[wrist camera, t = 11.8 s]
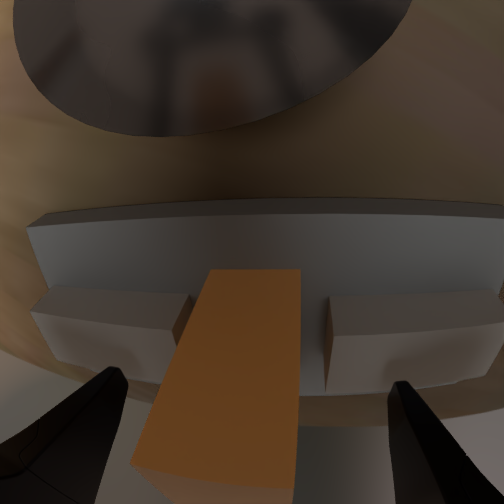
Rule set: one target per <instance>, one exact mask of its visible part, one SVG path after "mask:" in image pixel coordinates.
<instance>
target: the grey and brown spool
mask: <svg viewBox="0 0 504 504" xmlns="http://www.w3.org/2000/svg"><path fill="white" fill-rule="evenodd" d="M411 1H412V0H14V7H13V28H14V36H15V43H16V46H17V50H18V53H19V57H20V60H21V62H22V64H23V66H24V68H25V70H26V72H27V74H28V76H29V78H30V79H31V80H32V82H33V83H34V85H35V86H36V88H37V89H38V90H39V91H40V92H41V93H42V94H43V95H44V96H45V97H46V98H47V99H48V100H49V101H50V102H51V103H52V104H53V105H55V106H56V107H57V108H59V109H60V110H61V111H63V112H64V113H66V114H67V115H69V116H71V117H73V118H75V119H77V120H79V121H81V122H83V123H85V124H87V125H91V126H94V127H97V128H100V129H103V130H106V131H110V132H116V133H121V134H127V135H132V136H151V137H169V136H185V135H195V134H201V133H207V132H213V131H219V130H224V129H228V128H231V127H235V126H239V125H242V124H246V123H250V122H254V121H257V120H260V119H262V118H265V117H268V116H270V115H273V114H276V113H278V112H281V111H284V110H287V109H289V108H291V107H293V106H295V105H297V104H299V103H301V102H303V101H305V100H307V99H309V98H311V97H313V96H316V95H318V94H320V93H321V92H323V91H324V90H326V89H328V88H329V87H331V86H332V85H334V84H335V83H337V82H339V81H340V80H342V79H343V78H345V77H347V76H348V75H349V74H351V73H352V72H353V71H354V70H355V69H357V68H358V67H359V66H360V65H362V64H363V63H364V62H365V61H367V60H368V59H369V58H370V57H372V56H373V55H374V53H375V52H376V51H377V50H378V49H379V48H380V47H381V46H382V45H383V44H384V43H385V42H386V41H387V40H388V39H389V37H390V36H391V35H392V34H393V32H394V31H395V29H396V28H397V26H398V25H399V23H400V22H401V20H402V19H403V17H404V16H405V14H406V12H407V10H408V8H409V6H410V3H411Z"/></svg>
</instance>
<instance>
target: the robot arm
mask: <svg viewBox="0 0 504 504" xmlns="http://www.w3.org/2000/svg"><path fill="white" fill-rule="evenodd" d="M127 391H128V381H127V379H126V377H125V376H124V374H123V372H122V370H121V369H120V368H119V367H114V366H109V367H107V368H106V369H104V370H103V371H102V372H100V373H99V374H98V375H96V376H95V377H94V378H92V379H91V380H90V381H88V382H87V383H86V384H84V385H83V386H82V387H81V388H79V389H78V390H76V391H75V392H74V393H72V394H71V395H70V396H68V397H67V398H66V399H64V400H63V401H62V402H60V403H59V404H58V405H56V406H55V407H54V408H52V409H51V410H50V411H48V412H47V413H46V414H44V415H43V416H42V417H40V419H38V420H36V421H35V422H34V423H32V424H31V425H30V426H28V427H27V428H25V429H24V430H22V431H21V432H19V433H18V434H16V435H14V436H13V437H11V438H9V439H8V440H6V441H4V442H3V443H1V444H0V504H94V503H95V499H96V496H97V492H98V489H99V486H100V482H101V479H102V476H103V473H104V469H105V466H106V463H107V460H108V457H109V454H110V451H111V448H112V444H113V442H114V439H115V436H116V433H117V430H118V427H119V424H120V420H121V416H122V412H123V407H124V403H125V399H126V395H127ZM387 404H388V428H389V448H390V454H391V463H392V471H393V480H394V490H395V501H396V504H504V496H503V495H502V494H501V493H500V492H499V491H498V490H497V489H496V488H495V487H494V486H493V485H492V484H491V483H490V482H489V481H488V480H487V479H486V477H485V476H484V475H483V474H482V473H481V472H480V471H479V469H478V468H477V467H476V466H475V465H474V463H473V462H472V461H471V459H470V458H469V457H468V456H466V453H465V452H464V451H463V449H462V448H461V447H460V445H459V444H458V443H457V441H456V440H455V439H454V438H453V436H452V435H451V434H450V433H449V431H448V430H447V429H446V428H445V426H444V425H443V424H442V423H441V421H440V420H439V419H438V418H437V416H436V415H435V414H434V413H433V411H432V410H431V409H430V408H429V406H428V405H427V404H426V403H425V401H424V400H423V399H422V398H421V397H420V395H419V394H418V393H417V392H416V391H415V389H414V388H413V387H412V386H411V384H410V383H409V382H408V381H406V380H402V381H395V382H394V383H393V386H392V388H391V390H390V393H389V395H388V400H387Z"/></svg>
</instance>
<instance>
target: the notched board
mask: <svg viewBox="0 0 504 504" xmlns="http://www.w3.org/2000/svg"><path fill="white" fill-rule="evenodd" d="M26 230H27V233H28V236H29V239H30V242H31V244H32V247H33V250H34V253H35V256H36V258H37V261H38V263H39V266H40V269H41V271H42V274H43V276H44V278H45V281H46V283H47V286H48V288H49V291H48V292H47V293H46V294H45V295H44V296H43V297H42V298H41V299H40V300H39V301H38V303H37V304H36V305H35V306H34V307H33V308H32V309H31V310H30V313H31V315H32V317H33V319H34V320H35V322H36V324H37V326H38V328H39V330H40V332H41V333H42V335H43V337H44V339H45V340H46V342H47V344H48V346H49V347H50V349H51V351H52V352H53V354H54V356H55V357H56V359H57V360H58V361H62V362H65V363H69V364H73V365H77V366H81V367H85V368H89V369H90V370H91V371H95V372H99V373H100V372H102V371H103V370H104V369H106V368H107V367H109V366H114V367H119V368H120V369H121V370H122V372H123V374H124V376H125V377H126V378H127V379H132V380H138V381H143V382H149V383H155V384H162V381H163V379H164V376H165V374H166V372H167V369H168V367H169V364H170V362H171V360H172V357H173V355H174V353H175V350H176V348H177V345H178V343H179V341H180V338H181V336H182V334H183V331H184V329H185V327H186V324H187V322H188V320H189V318H190V315H191V313H192V311H193V308H194V306H195V304H196V302H197V299H198V297H199V295H200V292H201V290H202V288H203V286H204V283H205V281H206V279H207V277H208V274H209V272H210V270H211V269H300V270H301V342H300V386H299V396H333V395H356V394H372V393H384V392H390V390H391V388H392V386H393V383H394V382H395V381H402V380H406V381H408V382H409V383H410V384H411V386H412V387H413V388H414V389H421V388H428V387H435V386H441V385H447V384H453V383H457V381H461V380H466V379H471V378H476V377H481V376H485V375H486V373H487V372H488V370H489V368H490V366H491V365H492V363H493V361H494V360H495V358H496V356H497V354H498V352H499V351H500V349H501V347H502V345H503V343H504V304H503V303H502V301H501V300H500V298H499V297H498V295H499V292H500V290H501V287H502V284H503V281H504V207H503V206H502V205H494V204H481V203H467V202H452V201H434V200H412V199H382V198H263V199H231V200H208V201H188V202H172V203H157V204H143V205H130V206H118V207H107V208H96V209H86V210H77V211H67V212H59V213H50V214H45V215H43V216H42V217H40V218H39V219H37V220H36V221H35V222H33V223H32V224H30V225H29V226H27V227H26Z"/></svg>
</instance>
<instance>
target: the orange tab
mask: <svg viewBox="0 0 504 504" xmlns="http://www.w3.org/2000/svg"><path fill="white" fill-rule="evenodd" d="M300 342H301V270H300V269H211V270H210V272H209V274H208V277H207V279H206V281H205V283H204V286H203V288H202V290H201V292H200V295H199V297H198V299H197V302H196V304H195V306H194V308H193V311H192V313H191V315H190V318H189V320H188V322H187V324H186V327H185V329H184V331H183V334H182V336H181V338H180V341H179V343H178V345H177V348H176V350H175V353H174V355H173V357H172V360H171V362H170V364H169V367H168V369H167V372H166V374H165V376H164V379H163V381H162V384H161V386H160V389H159V391H158V393H157V396H156V398H155V401H154V403H153V406H152V408H151V411H150V413H149V416H148V418H147V421H146V423H145V426H144V428H143V431H142V433H141V436H140V438H139V441H138V444H137V446H136V449H135V451H134V454H133V457H132V459H131V462H130V464H131V465H132V466H133V467H134V468H135V469H136V470H137V471H138V472H139V473H140V474H141V475H142V476H143V477H144V478H145V479H147V480H148V481H149V482H150V483H151V484H152V485H153V486H154V487H155V488H157V489H158V490H159V491H160V492H161V493H162V494H164V495H165V496H166V497H167V498H168V499H170V500H171V501H172V502H173V503H175V504H292V499H293V491H294V481H295V467H296V450H297V434H298V413H299V386H300Z"/></svg>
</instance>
